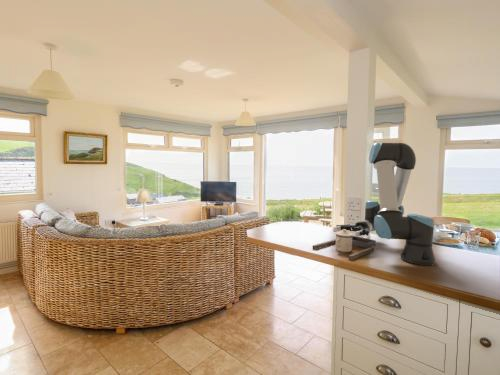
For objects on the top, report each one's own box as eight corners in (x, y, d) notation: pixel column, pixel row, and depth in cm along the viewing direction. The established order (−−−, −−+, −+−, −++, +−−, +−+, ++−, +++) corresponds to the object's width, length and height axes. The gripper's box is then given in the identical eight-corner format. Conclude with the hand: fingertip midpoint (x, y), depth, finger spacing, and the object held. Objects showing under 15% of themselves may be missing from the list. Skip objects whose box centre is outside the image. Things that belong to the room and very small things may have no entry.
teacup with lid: (341, 246, 165) (341, 227, 164) (355, 250, 158) (356, 230, 157) (328, 250, 158) (329, 229, 157) (343, 254, 151) (344, 232, 150)
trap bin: (375, 245, 170) (375, 240, 169) (366, 248, 162) (367, 243, 162) (353, 240, 180) (354, 235, 180) (344, 243, 173) (344, 238, 172)
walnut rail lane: (374, 251, 158) (374, 247, 158) (351, 260, 141) (351, 256, 141) (336, 241, 176) (336, 238, 175) (312, 249, 159) (312, 245, 159)
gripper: (383, 237, 164) (365, 243, 150) (344, 229, 183) (325, 234, 169) (384, 224, 164) (366, 229, 150) (345, 218, 183) (326, 221, 169)
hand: (344, 231), depth 160 cm, fingers open, 13 cm apart
